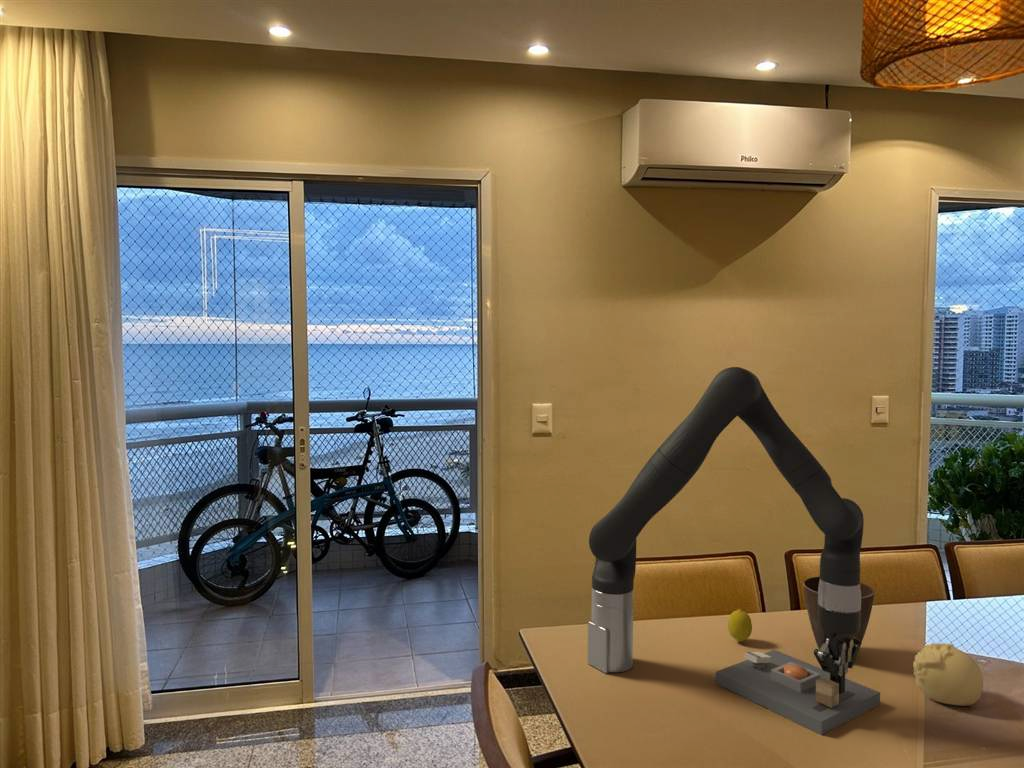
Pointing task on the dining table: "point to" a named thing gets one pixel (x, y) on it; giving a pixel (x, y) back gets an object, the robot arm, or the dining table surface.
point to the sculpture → (948, 675)
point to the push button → (795, 671)
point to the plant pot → (812, 607)
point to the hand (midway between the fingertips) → (837, 692)
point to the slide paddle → (827, 692)
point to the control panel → (796, 692)
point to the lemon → (739, 625)
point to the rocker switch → (757, 657)
